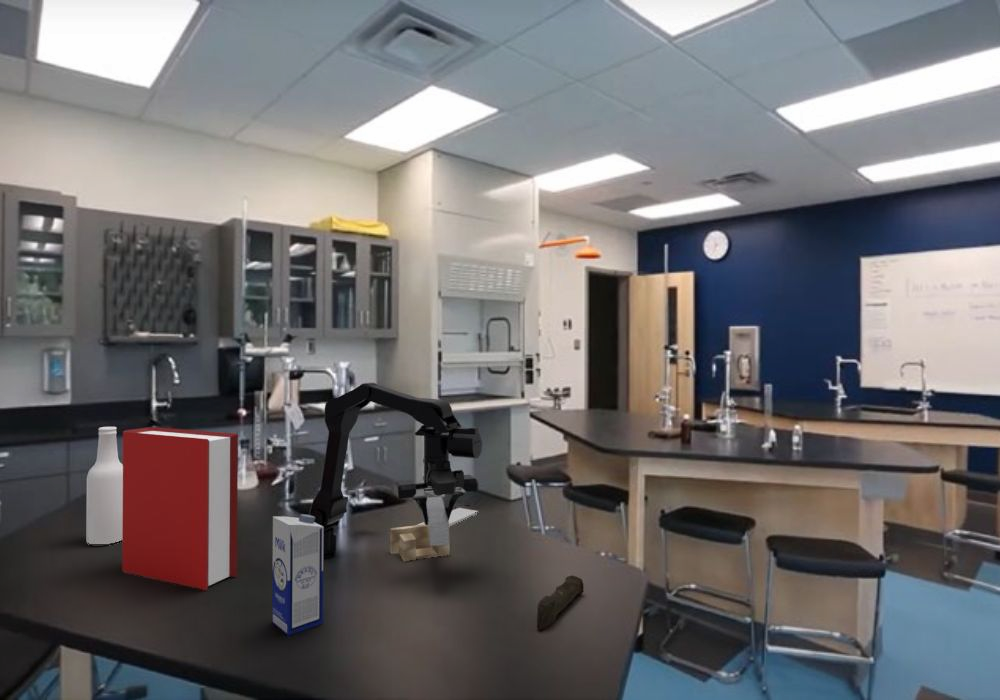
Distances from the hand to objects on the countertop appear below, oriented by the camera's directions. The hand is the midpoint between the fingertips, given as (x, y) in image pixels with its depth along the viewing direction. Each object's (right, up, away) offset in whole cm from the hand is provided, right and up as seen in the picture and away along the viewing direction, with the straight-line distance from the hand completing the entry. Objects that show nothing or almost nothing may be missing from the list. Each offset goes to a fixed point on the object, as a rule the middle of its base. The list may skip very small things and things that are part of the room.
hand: (436, 523), depth 131 cm
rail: (0, -1, 0) cm, 1 cm away
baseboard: (-4, -12, +36) cm, 38 cm away
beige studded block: (-5, -11, +12) cm, 17 cm away
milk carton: (-23, -11, -24) cm, 35 cm away
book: (-58, -11, -2) cm, 59 cm away
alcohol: (-89, -11, +19) cm, 91 cm away
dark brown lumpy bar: (+26, -12, -19) cm, 35 cm away
